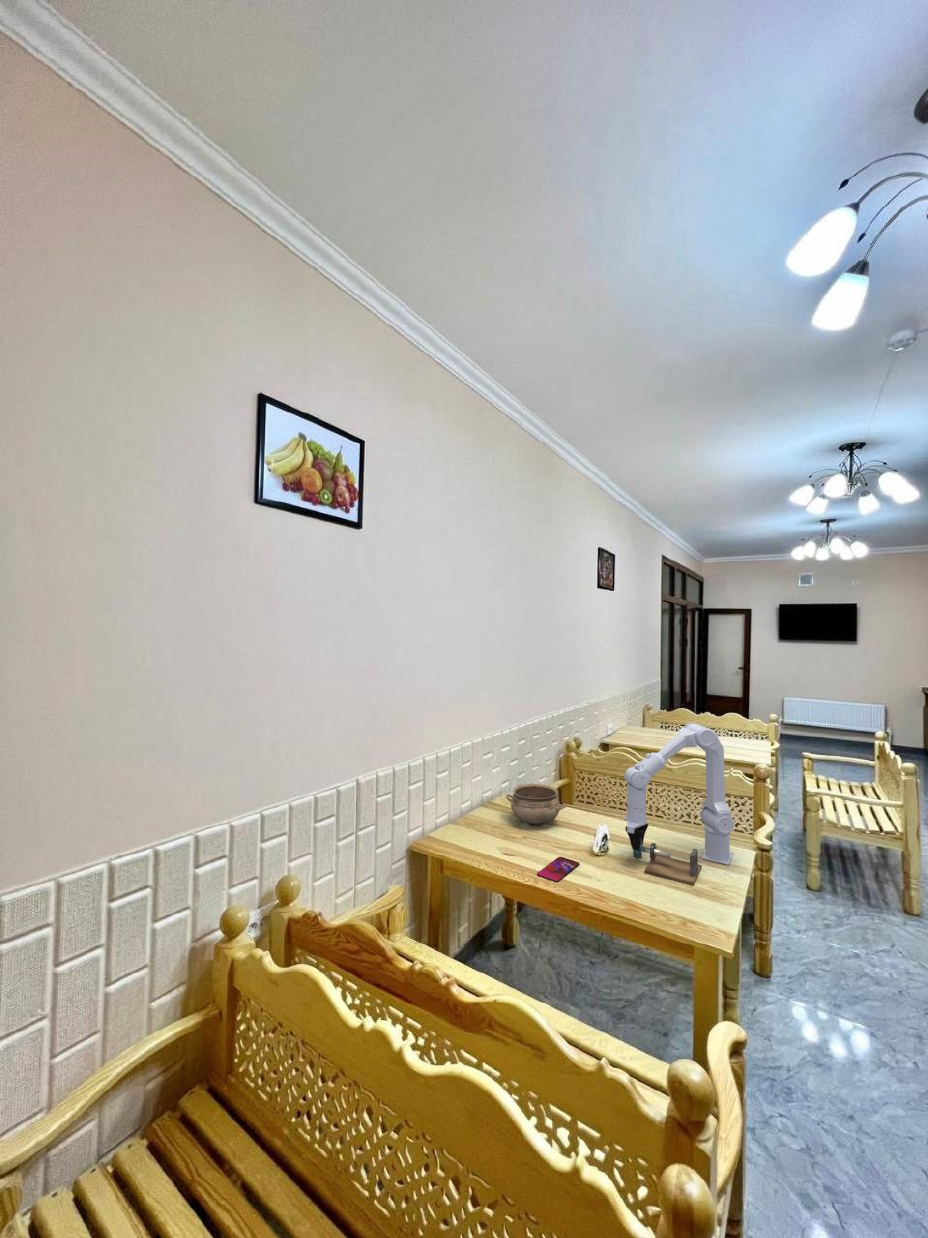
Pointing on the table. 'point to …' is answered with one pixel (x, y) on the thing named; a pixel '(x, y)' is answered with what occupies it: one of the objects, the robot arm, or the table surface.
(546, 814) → the cooking pot
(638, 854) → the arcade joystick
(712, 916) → the table surface
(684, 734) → the robot arm
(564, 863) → the smartphone
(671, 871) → the eye stand
